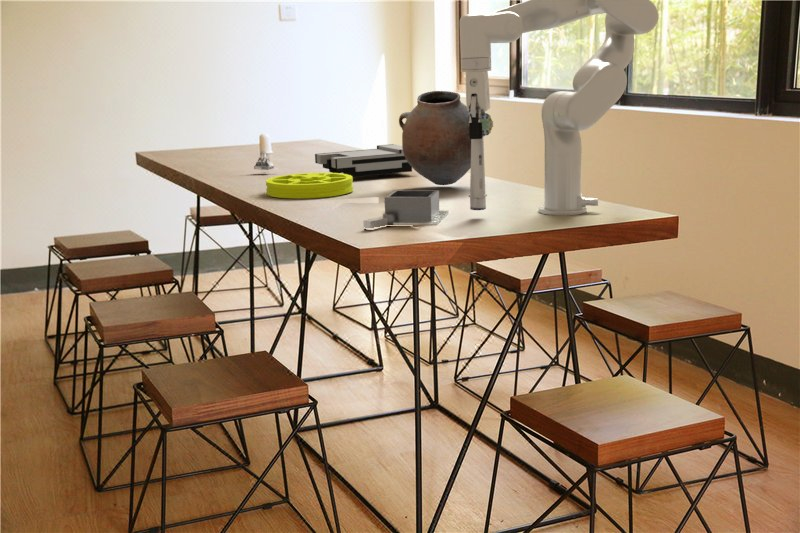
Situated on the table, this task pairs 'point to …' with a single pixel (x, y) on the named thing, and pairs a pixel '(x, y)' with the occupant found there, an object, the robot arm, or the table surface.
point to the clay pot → (437, 137)
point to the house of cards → (264, 162)
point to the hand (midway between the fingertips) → (478, 136)
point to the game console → (366, 161)
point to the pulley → (309, 185)
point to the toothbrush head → (479, 166)
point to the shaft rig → (410, 209)
